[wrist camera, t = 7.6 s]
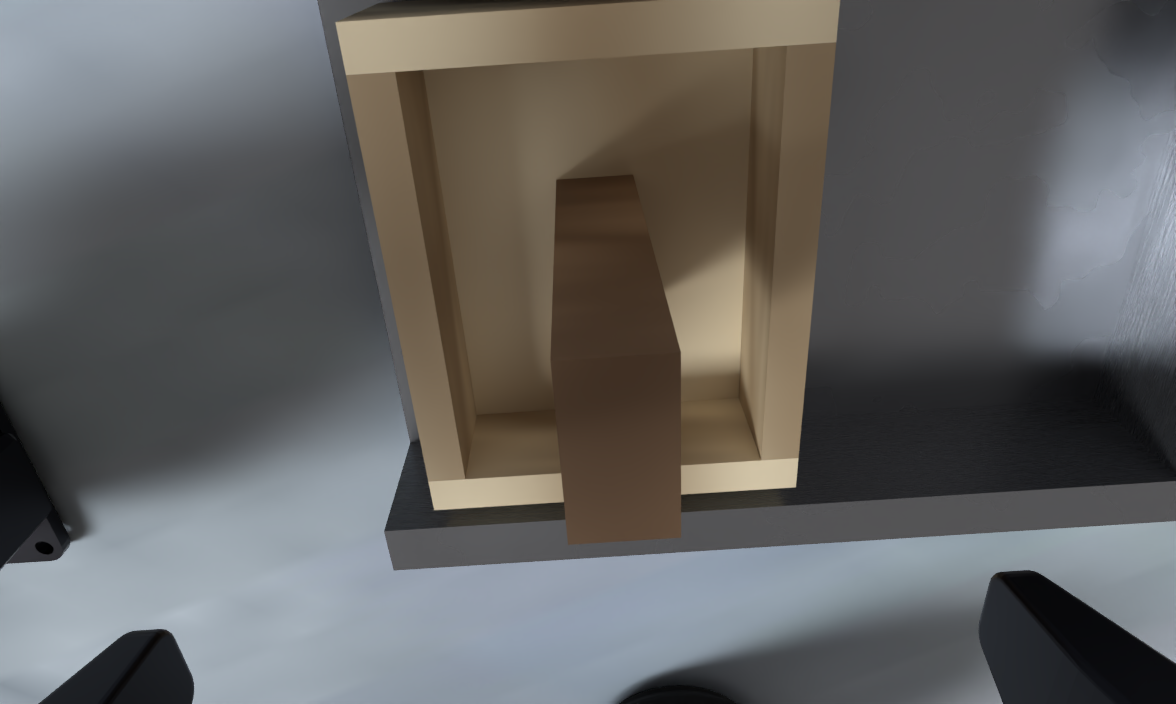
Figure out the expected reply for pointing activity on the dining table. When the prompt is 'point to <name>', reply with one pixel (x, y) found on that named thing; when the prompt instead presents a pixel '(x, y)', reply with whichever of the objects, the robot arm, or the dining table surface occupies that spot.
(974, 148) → the bay
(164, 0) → the dining table surface
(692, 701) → the beverage can
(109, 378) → the dining table surface
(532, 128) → the box
